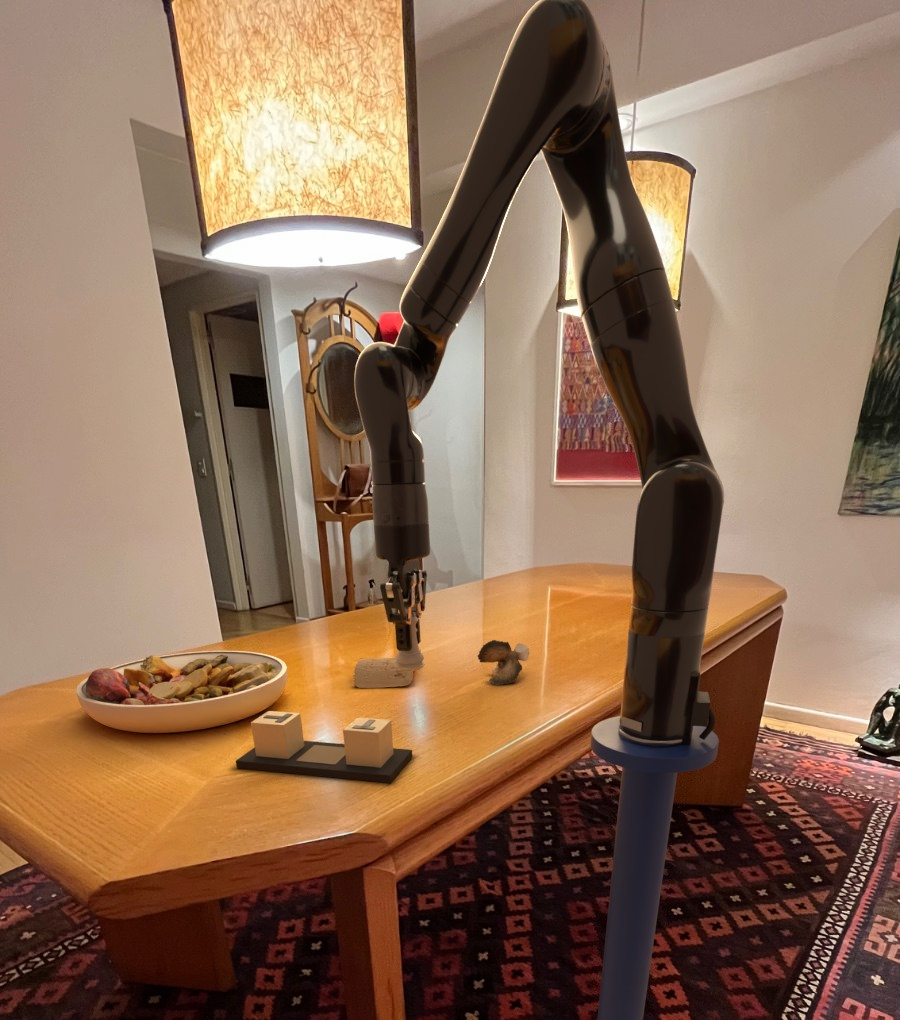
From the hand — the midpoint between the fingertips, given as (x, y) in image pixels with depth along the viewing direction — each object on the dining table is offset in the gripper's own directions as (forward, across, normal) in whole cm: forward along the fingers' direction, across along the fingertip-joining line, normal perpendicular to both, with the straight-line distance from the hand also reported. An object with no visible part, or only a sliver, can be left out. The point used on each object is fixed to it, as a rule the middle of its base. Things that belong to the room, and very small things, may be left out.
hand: (409, 646), depth 99 cm
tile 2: (+8, -24, -3) cm, 25 cm away
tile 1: (+8, -24, +9) cm, 27 cm away
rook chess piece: (+3, 0, 0) cm, 3 cm away
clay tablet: (+9, +14, +9) cm, 19 cm away
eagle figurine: (+9, +17, -11) cm, 22 cm away
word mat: (+9, -24, +3) cm, 26 cm away
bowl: (+9, -8, +33) cm, 35 cm away
